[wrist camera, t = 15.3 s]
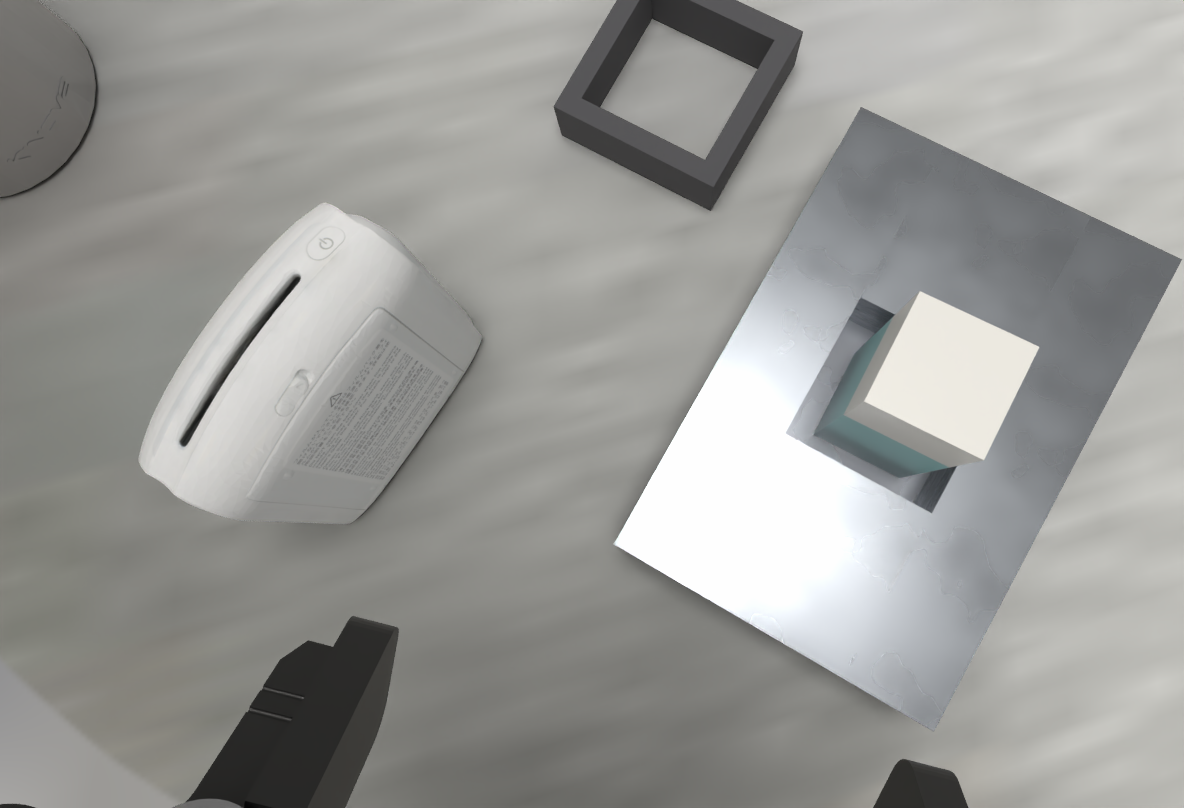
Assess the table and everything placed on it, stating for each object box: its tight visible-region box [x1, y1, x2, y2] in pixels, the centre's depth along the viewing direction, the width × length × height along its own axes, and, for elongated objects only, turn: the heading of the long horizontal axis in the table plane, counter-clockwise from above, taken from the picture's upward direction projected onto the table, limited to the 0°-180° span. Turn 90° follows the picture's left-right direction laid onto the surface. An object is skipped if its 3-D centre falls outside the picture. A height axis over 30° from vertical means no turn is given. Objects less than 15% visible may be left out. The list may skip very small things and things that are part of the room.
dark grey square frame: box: [554, 0, 803, 211], centre depth 35 cm, size 7×7×2 cm
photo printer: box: [139, 203, 482, 524], centre depth 30 cm, size 10×4×12 cm, turn 146°
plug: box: [813, 291, 1039, 478], centre depth 28 cm, size 4×4×9 cm
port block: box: [614, 107, 1182, 732], centre depth 32 cm, size 12×18×4 cm, turn 150°
